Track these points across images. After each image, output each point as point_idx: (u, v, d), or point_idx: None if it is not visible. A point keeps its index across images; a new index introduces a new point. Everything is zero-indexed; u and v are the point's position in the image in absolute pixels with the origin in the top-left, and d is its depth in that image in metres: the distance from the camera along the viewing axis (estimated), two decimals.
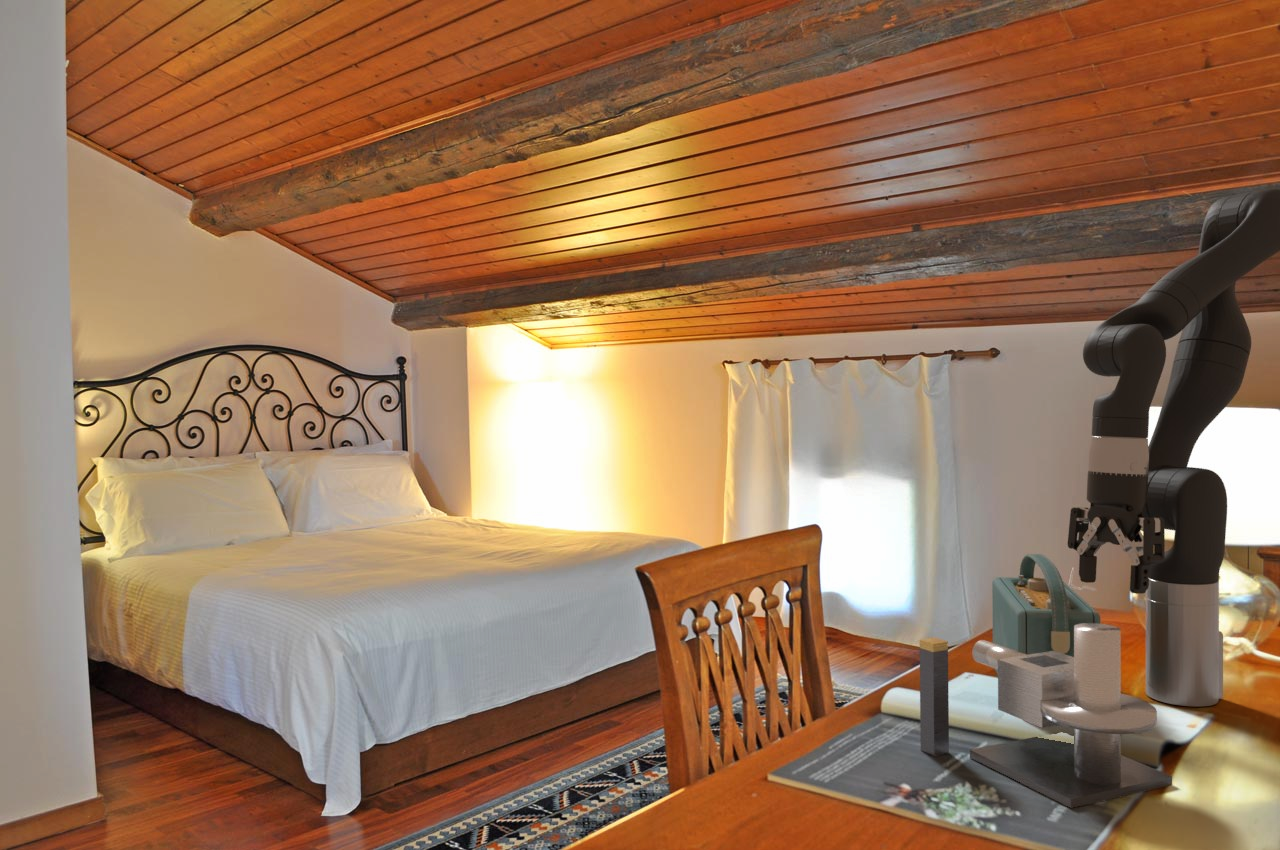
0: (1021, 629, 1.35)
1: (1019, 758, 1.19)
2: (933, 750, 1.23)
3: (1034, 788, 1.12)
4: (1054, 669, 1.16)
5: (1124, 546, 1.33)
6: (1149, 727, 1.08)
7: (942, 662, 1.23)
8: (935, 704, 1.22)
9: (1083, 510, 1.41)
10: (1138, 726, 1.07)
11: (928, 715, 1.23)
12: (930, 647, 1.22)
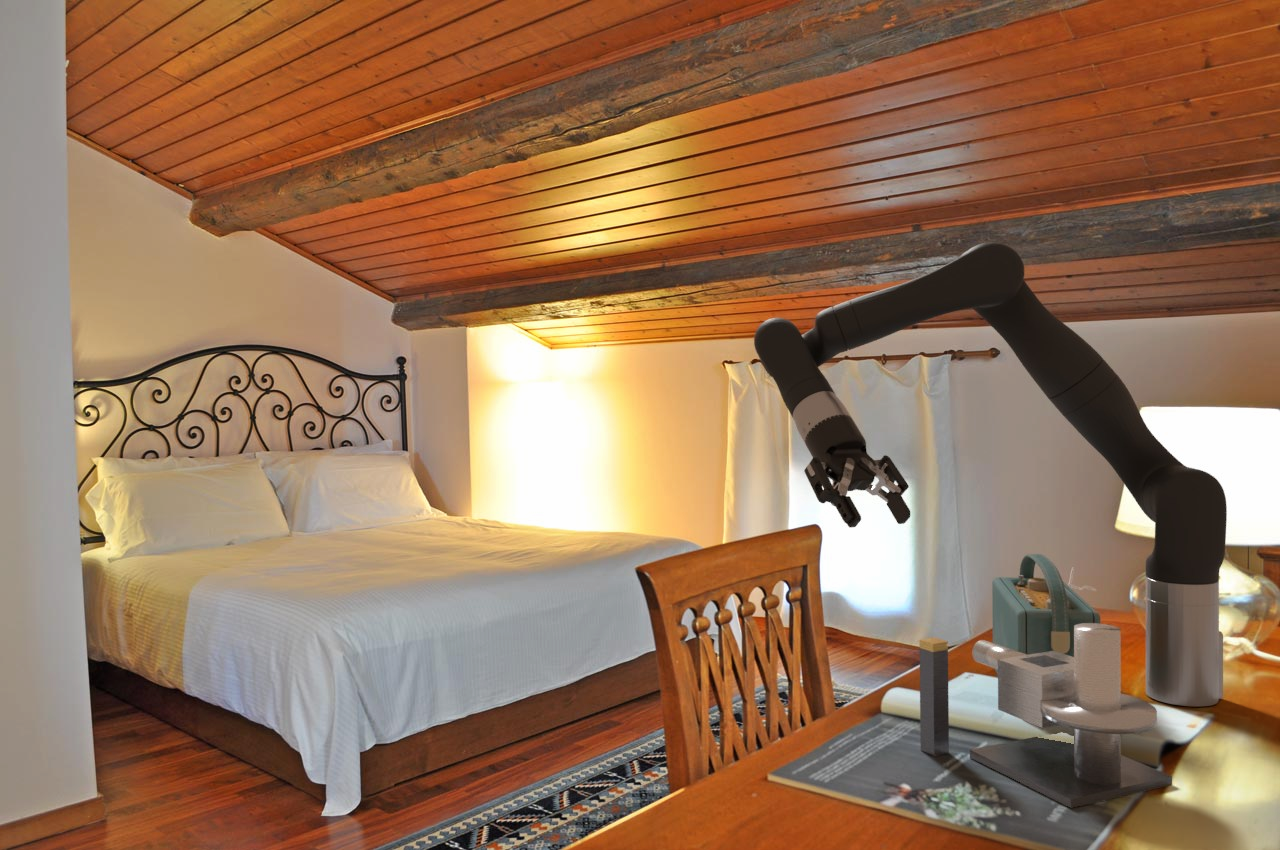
0: (1021, 629, 1.35)
1: (1019, 758, 1.19)
2: (933, 750, 1.23)
3: (1034, 788, 1.12)
4: (1054, 669, 1.16)
5: None
6: (1149, 727, 1.08)
7: (942, 662, 1.23)
8: (935, 704, 1.22)
9: None
10: (1138, 726, 1.07)
11: (928, 715, 1.23)
12: (930, 647, 1.22)
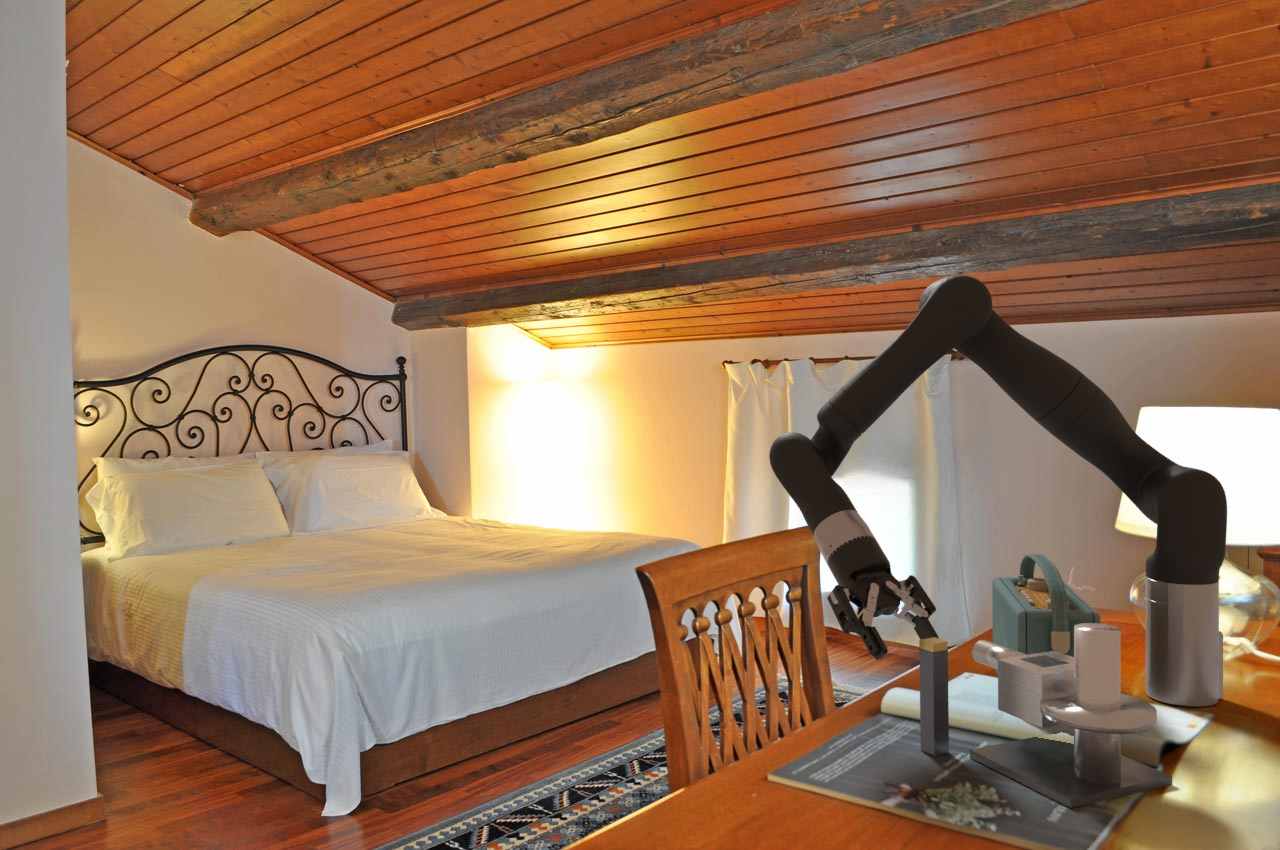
0: (1021, 629, 1.35)
1: (1019, 758, 1.19)
2: (933, 750, 1.23)
3: (1034, 788, 1.12)
4: (1054, 669, 1.16)
5: None
6: (1149, 727, 1.08)
7: (942, 662, 1.23)
8: (934, 704, 1.22)
9: None
10: (1138, 726, 1.07)
11: (928, 715, 1.23)
12: (930, 647, 1.22)
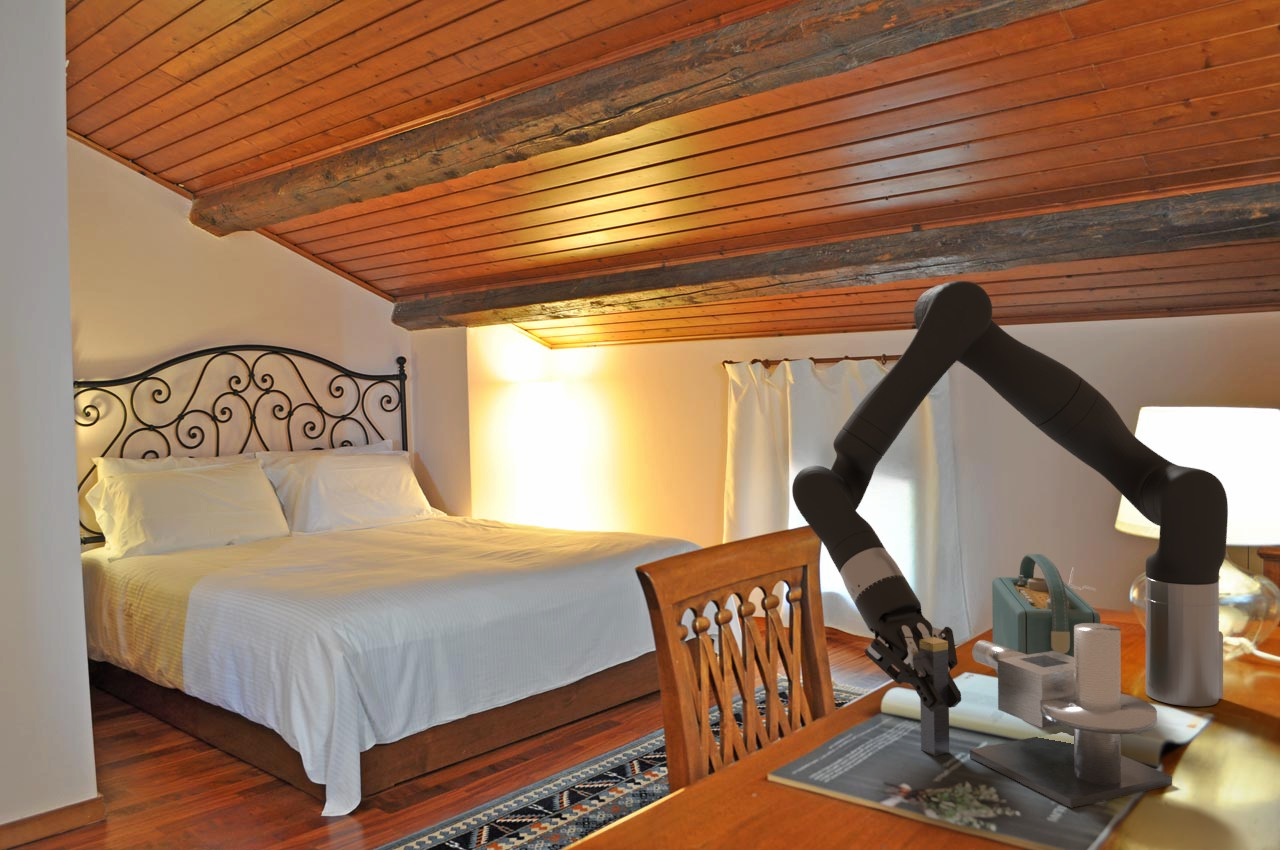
0: (1021, 629, 1.35)
1: (1019, 758, 1.19)
2: (933, 750, 1.23)
3: (1034, 788, 1.12)
4: (1054, 669, 1.16)
5: None
6: (1149, 727, 1.08)
7: (942, 662, 1.23)
8: None
9: None
10: (1138, 726, 1.07)
11: (928, 715, 1.23)
12: (930, 647, 1.22)
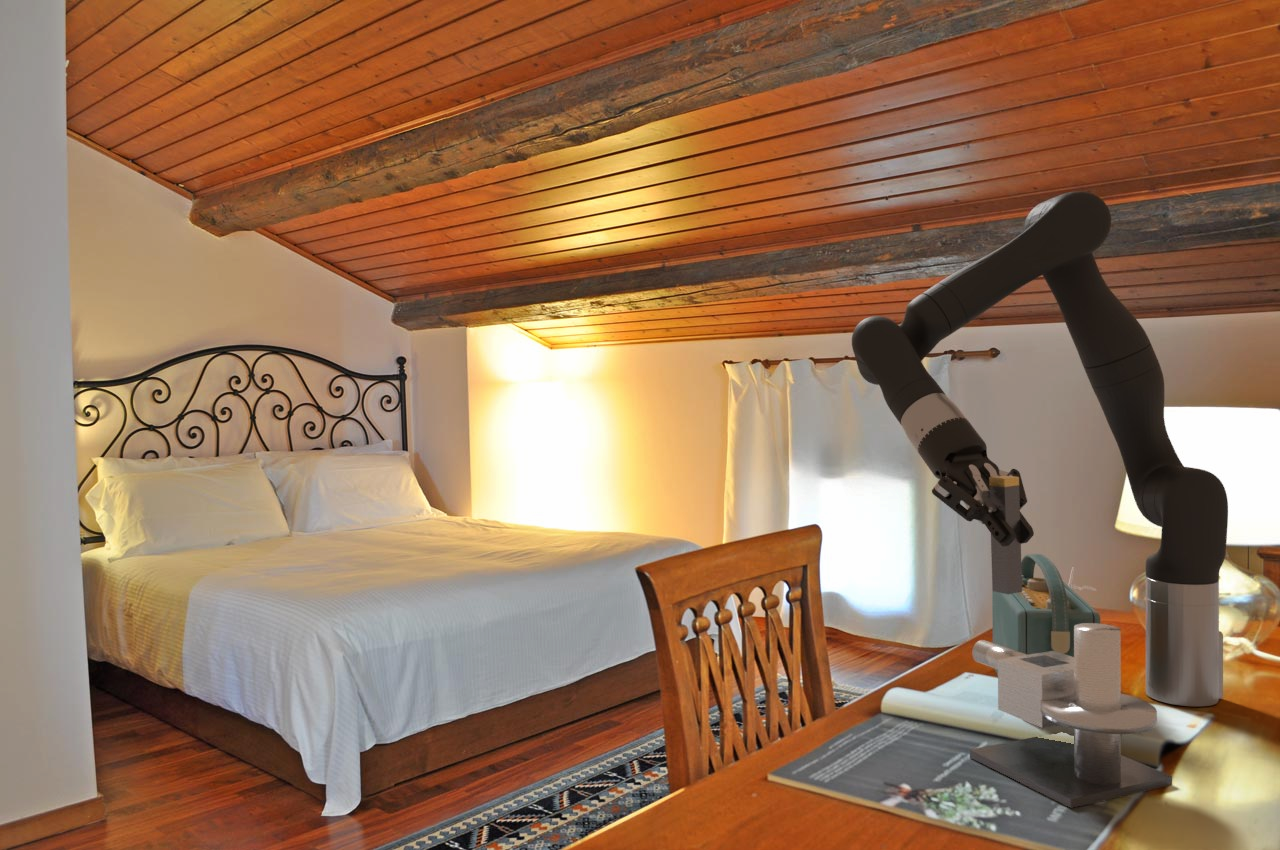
0: (1021, 629, 1.35)
1: (1019, 758, 1.19)
2: (1006, 588, 1.19)
3: (1034, 788, 1.12)
4: (1054, 669, 1.16)
5: None
6: (1149, 727, 1.08)
7: (1013, 498, 1.19)
8: None
9: None
10: (1138, 726, 1.07)
11: (1000, 553, 1.20)
12: (1001, 482, 1.19)
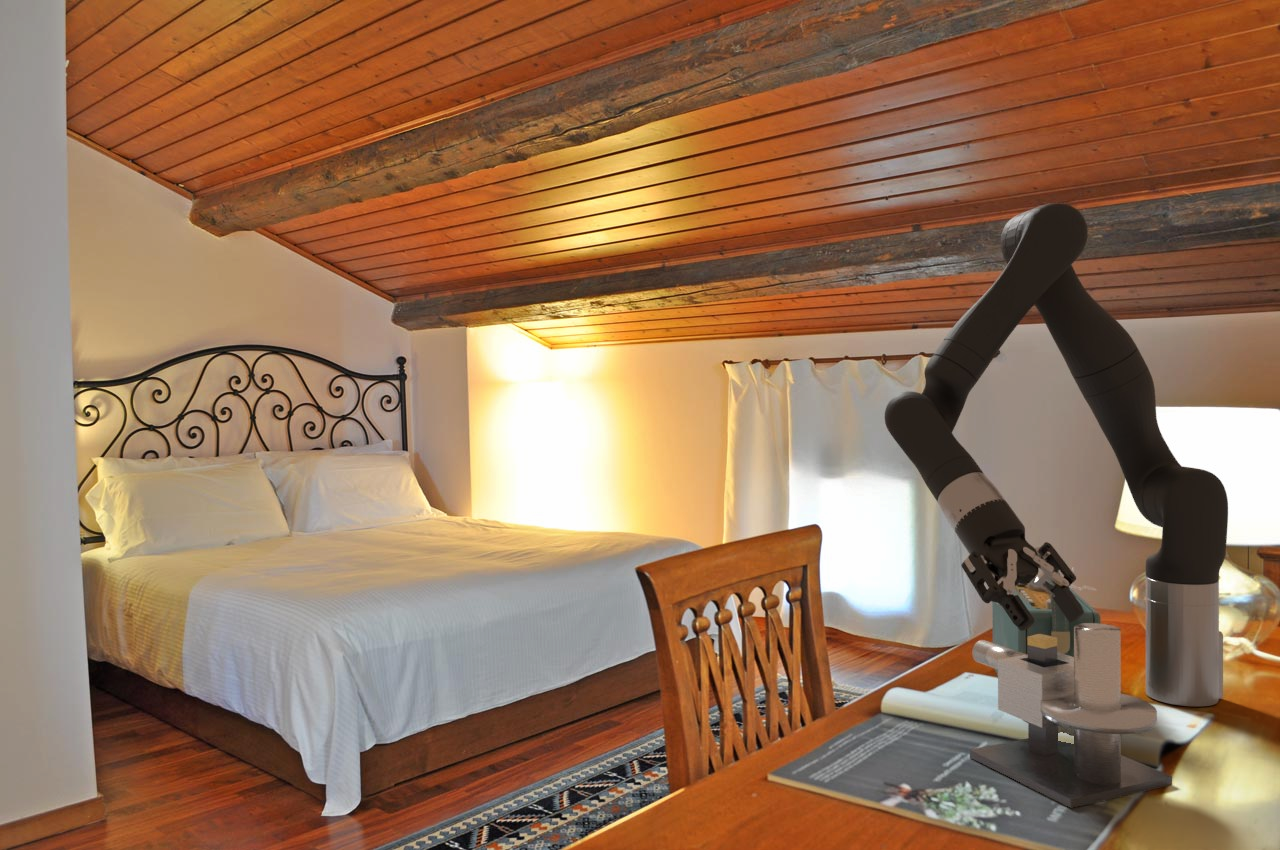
0: None
1: (1019, 758, 1.19)
2: (1044, 750, 1.19)
3: (1034, 788, 1.12)
4: (1054, 669, 1.16)
5: None
6: (1149, 727, 1.08)
7: (1052, 659, 1.19)
8: None
9: None
10: (1138, 726, 1.07)
11: None
12: (1041, 644, 1.19)
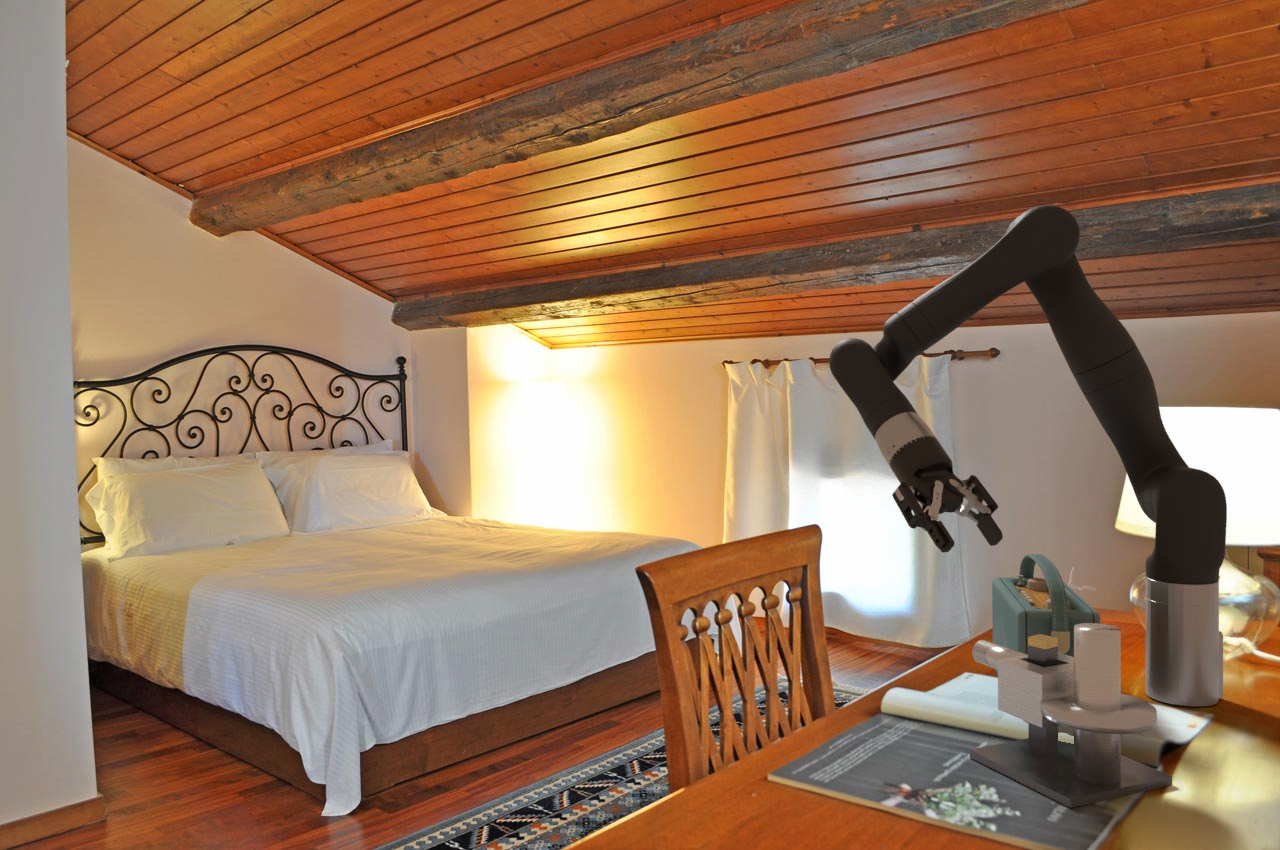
0: (1021, 629, 1.35)
1: (1019, 758, 1.19)
2: (1045, 750, 1.19)
3: (1034, 788, 1.12)
4: (1054, 669, 1.16)
5: None
6: (1149, 727, 1.08)
7: (1053, 659, 1.19)
8: None
9: None
10: (1138, 726, 1.07)
11: None
12: (1041, 644, 1.19)
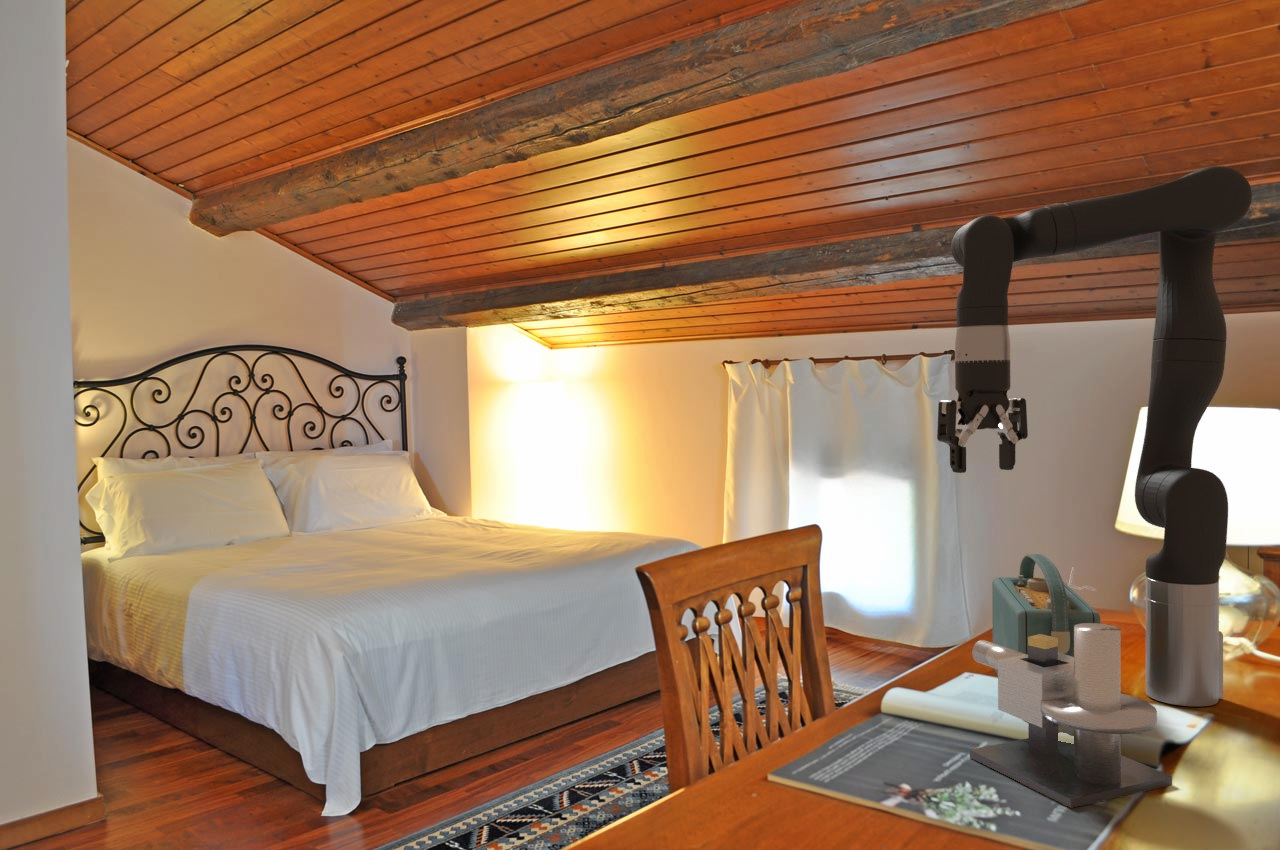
0: (1021, 629, 1.35)
1: (1019, 758, 1.19)
2: (1045, 750, 1.19)
3: (1034, 788, 1.12)
4: (1054, 669, 1.16)
5: None
6: (1149, 727, 1.08)
7: (1053, 659, 1.19)
8: None
9: (1009, 400, 1.45)
10: (1138, 726, 1.07)
11: None
12: (1041, 644, 1.19)
